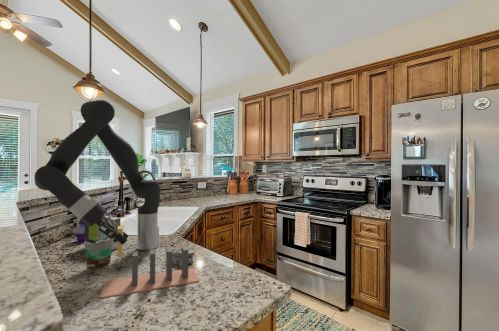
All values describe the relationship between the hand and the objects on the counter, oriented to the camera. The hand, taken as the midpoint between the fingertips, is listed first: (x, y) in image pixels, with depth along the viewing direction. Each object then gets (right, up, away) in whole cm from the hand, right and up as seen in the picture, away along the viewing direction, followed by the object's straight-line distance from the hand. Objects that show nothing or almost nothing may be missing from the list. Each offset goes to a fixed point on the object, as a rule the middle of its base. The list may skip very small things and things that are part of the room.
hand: (125, 240), depth 94 cm
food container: (-13, -13, +8) cm, 20 cm away
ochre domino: (-2, -5, -1) cm, 5 cm away
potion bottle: (-43, -13, +41) cm, 61 cm away
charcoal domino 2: (+13, -12, -7) cm, 19 cm away
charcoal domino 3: (+18, -12, -5) cm, 22 cm away
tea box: (-26, -13, +30) cm, 42 cm away
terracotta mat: (+13, -12, -7) cm, 19 cm away
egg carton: (+17, -13, +11) cm, 24 cm away
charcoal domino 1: (+7, -12, -9) cm, 17 cm away
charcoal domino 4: (+23, -12, -3) cm, 26 cm away
